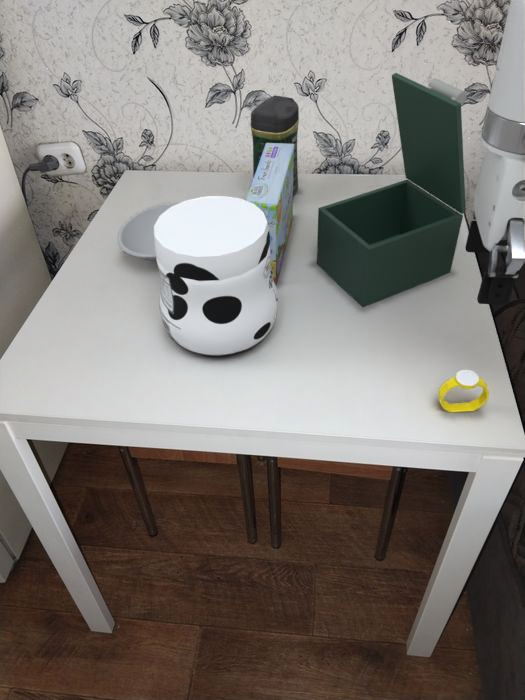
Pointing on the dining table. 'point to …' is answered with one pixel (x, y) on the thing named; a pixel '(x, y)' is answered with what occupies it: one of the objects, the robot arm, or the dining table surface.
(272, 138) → the coffee jar
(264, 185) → the snack box
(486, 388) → the watch
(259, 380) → the dining table surface
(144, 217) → the dish
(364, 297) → the bin
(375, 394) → the dining table surface
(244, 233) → the doce de leite jar
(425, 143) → the bin lid
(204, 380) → the dining table surface
